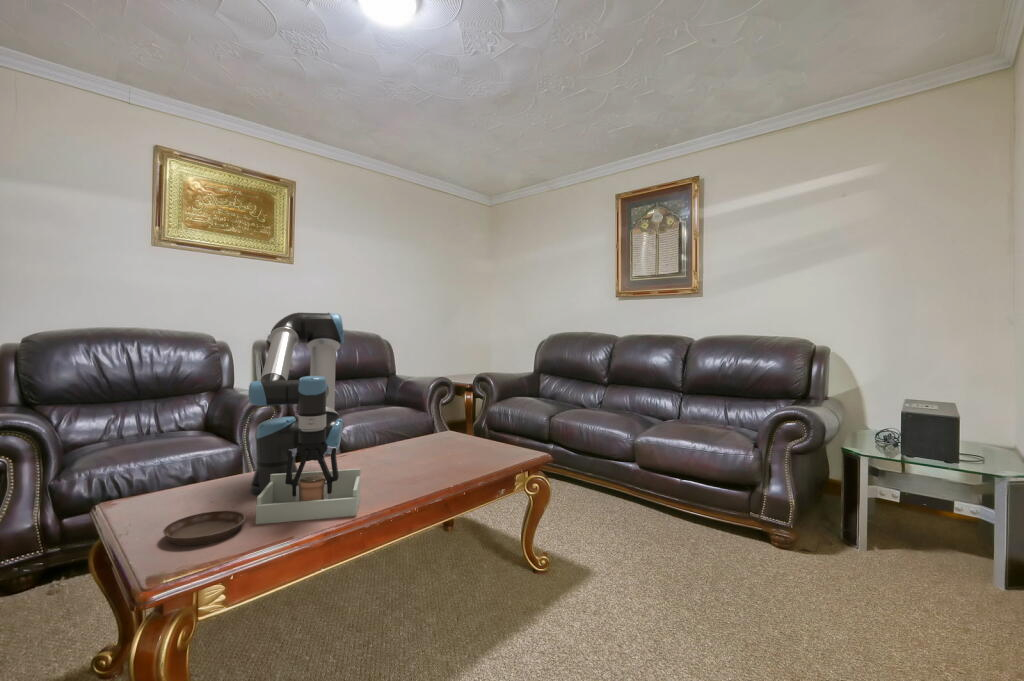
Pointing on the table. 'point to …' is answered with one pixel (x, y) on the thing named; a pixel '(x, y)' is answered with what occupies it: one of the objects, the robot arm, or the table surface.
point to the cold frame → (284, 508)
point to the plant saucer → (203, 527)
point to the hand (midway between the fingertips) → (312, 505)
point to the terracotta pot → (312, 488)
